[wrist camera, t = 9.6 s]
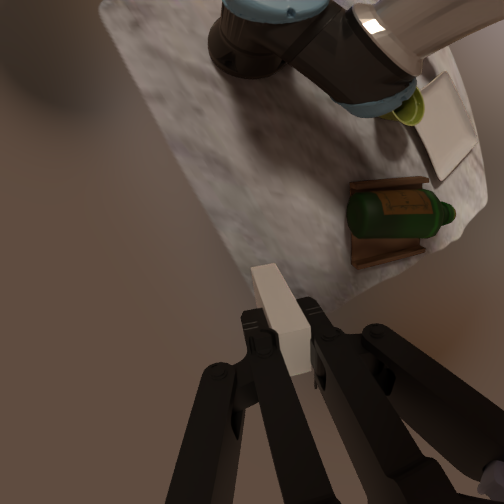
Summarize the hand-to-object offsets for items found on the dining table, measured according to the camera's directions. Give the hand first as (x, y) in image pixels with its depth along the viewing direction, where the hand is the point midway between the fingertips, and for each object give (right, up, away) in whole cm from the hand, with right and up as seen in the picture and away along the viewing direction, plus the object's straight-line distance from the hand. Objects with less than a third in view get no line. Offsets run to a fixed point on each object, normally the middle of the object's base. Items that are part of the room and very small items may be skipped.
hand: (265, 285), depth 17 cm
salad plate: (+44, +33, +32) cm, 64 cm away
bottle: (+18, +9, +31) cm, 37 cm away
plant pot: (+26, +32, +29) cm, 51 cm away
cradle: (+30, +9, +38) cm, 49 cm away
